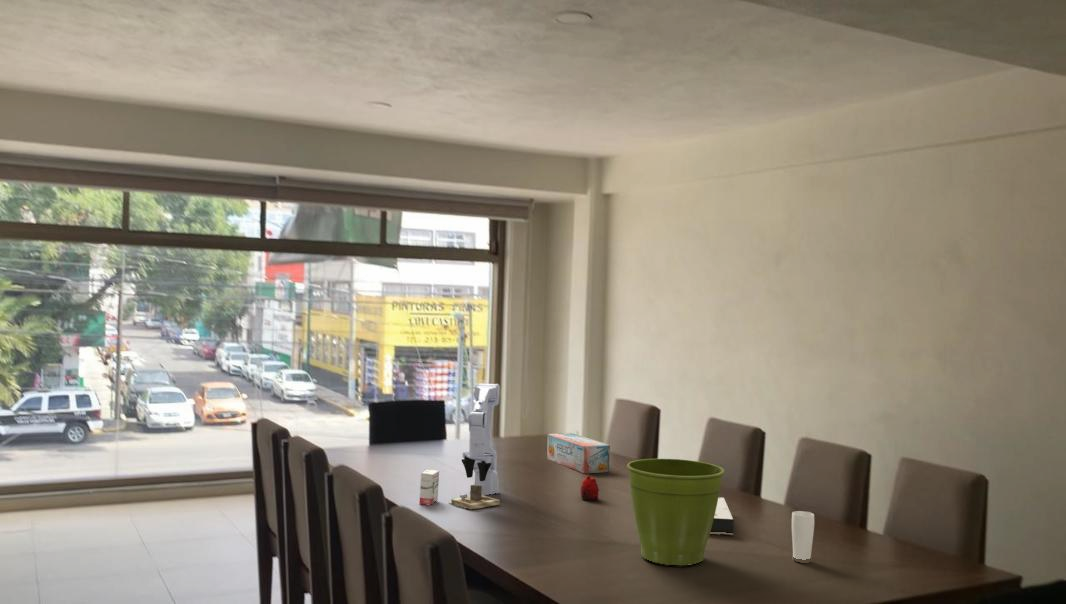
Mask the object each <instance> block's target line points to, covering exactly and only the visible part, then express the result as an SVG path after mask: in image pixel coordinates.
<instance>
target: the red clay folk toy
mask: <svg viewBox="0 0 1066 604" xmlns="http://www.w3.org/2000/svg"><path fill="white" fill-rule="evenodd" d="M586 464H587V463H586ZM586 467H587V473H586V474H587V476H585V477H584V479H583V480H582V483H581V485H580V497H581V499H582V500H584V501H588V500H592V501H598V500H599V491H600V489H599V485H598V482H597V479H596V478H594V477H591V476H590V473H588V472H589V471H588V467H589V466H588V464H587V466H586ZM589 468H590V469H591V467H589Z"/></svg>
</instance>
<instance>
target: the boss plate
mask: <svg viewBox="0 0 1066 604" xmlns="http://www.w3.org/2000/svg"><path fill="white" fill-rule="evenodd" d="M467 497H468V494H467V493H460V494H459V498H462V501H464V502H465V498H467ZM449 503H451V501H449V502H448V504H449ZM453 506H456V505H455V504H454V505H453ZM456 507H459V506H458V505H457V506H456ZM463 509H466V508H465V507H464V508H463Z"/></svg>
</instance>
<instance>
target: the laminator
mask: <svg viewBox="0 0 1066 604" xmlns="http://www.w3.org/2000/svg"><path fill="white" fill-rule="evenodd" d="M734 523H735V521H734V518H733V515H732V513H731V511H730V509H729V507H728V503H727V502H726V499H725V497H719V496H718V502H717V507H716V511H715V516H714V520H713V524H712V527H711V531H710V532H726V533H733V534H734V531H735V530H734V529H735V528H734V525H735V524H734Z"/></svg>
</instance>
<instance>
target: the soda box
mask: <svg viewBox="0 0 1066 604" xmlns="http://www.w3.org/2000/svg"><path fill="white" fill-rule="evenodd" d="M546 445H547V447H546V449H547V450H546V451H547V455H546V458H547V460H549V461H551V462H554V463H557V464H559V465H562V466H564V467H567V468H569V469H571V470H574V471H577V472H579V473H582V474H596V473H610V453H611V452H610V449H611V447H610V446H611V445H610V444H608V443H604V442H601V441H598V440H595V439H593V438H587V437H586V436H582V435H579V434H575V433H572V432H563V433H562V432H561V433H560V432H559V433H547V443H546ZM586 463H587V464H588V466H589V467H591V469H590V468H589V467H588V471H589V472H588V473H587V467H586V466H587V464H586Z"/></svg>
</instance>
